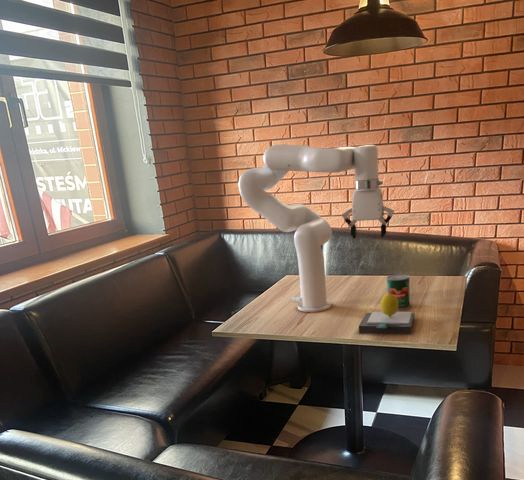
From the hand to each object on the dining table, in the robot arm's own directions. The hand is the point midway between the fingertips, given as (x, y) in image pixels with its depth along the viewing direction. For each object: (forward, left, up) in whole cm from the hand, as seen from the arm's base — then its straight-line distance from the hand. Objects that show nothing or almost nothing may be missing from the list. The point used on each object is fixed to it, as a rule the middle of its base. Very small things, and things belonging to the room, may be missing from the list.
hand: (368, 237), depth 182 cm
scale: (+8, -18, -26) cm, 33 cm away
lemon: (+9, -16, -23) cm, 30 cm away
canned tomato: (+9, +5, -26) cm, 28 cm away
